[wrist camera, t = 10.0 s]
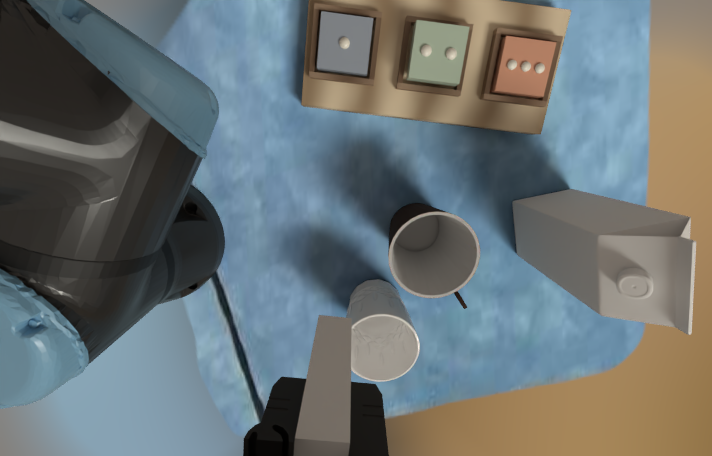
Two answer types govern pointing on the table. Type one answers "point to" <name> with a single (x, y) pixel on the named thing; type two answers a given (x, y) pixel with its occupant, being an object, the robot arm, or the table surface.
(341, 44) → the key one dot
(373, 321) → the white cup
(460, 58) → the key two dots
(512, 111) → the keypad board
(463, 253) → the coffee mug
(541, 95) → the key three dots
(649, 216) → the milk carton
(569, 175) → the table surface
